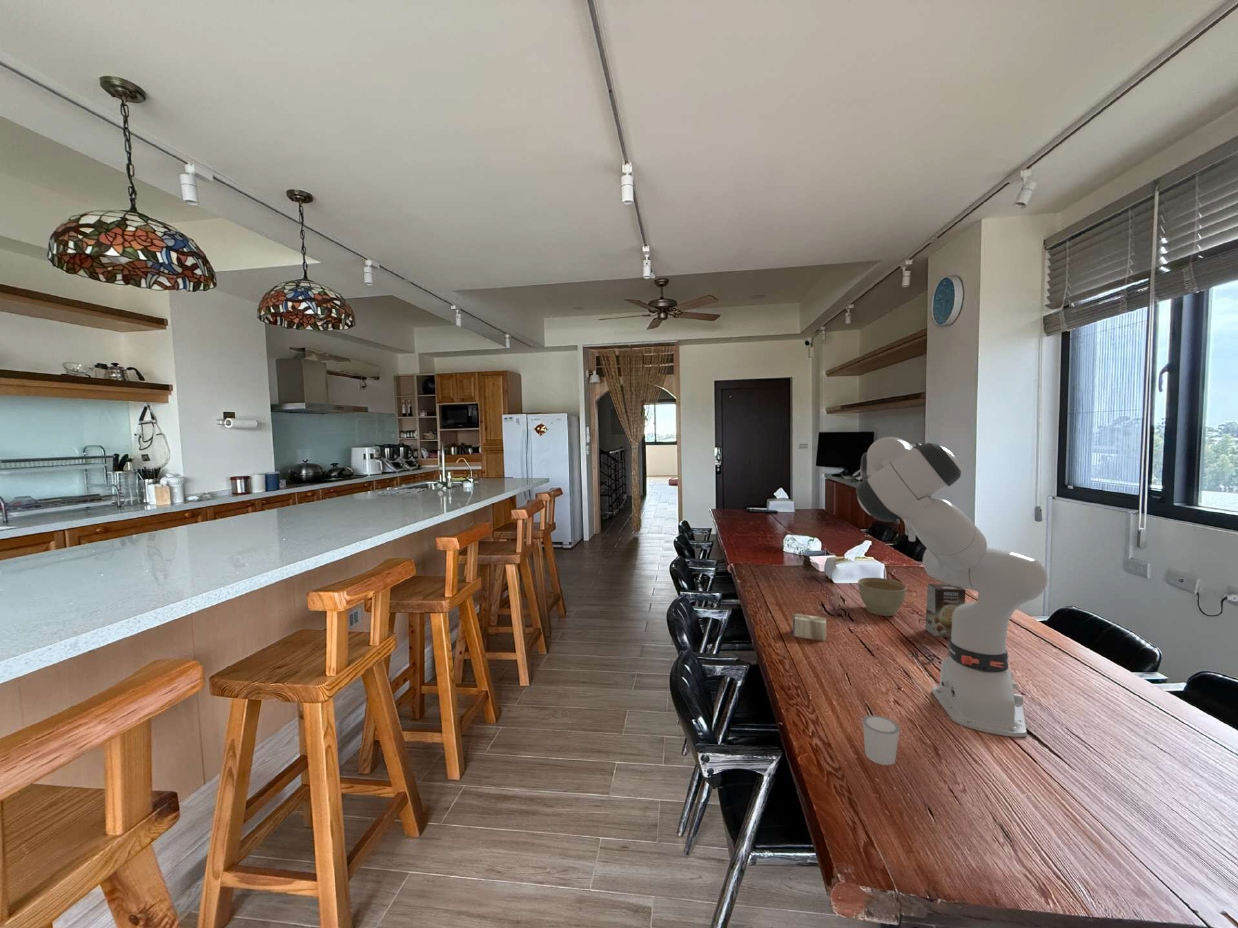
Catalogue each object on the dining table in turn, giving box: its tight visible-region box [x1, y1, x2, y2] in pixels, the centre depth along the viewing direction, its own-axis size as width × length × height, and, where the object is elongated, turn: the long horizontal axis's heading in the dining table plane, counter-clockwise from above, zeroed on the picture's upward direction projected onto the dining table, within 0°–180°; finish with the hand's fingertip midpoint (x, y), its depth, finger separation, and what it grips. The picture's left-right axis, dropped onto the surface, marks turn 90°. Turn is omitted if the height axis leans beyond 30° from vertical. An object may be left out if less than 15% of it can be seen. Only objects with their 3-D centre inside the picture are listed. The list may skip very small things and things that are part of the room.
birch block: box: [792, 613, 827, 642], centre depth 165 cm, size 5×6×10 cm
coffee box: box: [924, 583, 967, 638], centre depth 166 cm, size 9×6×16 cm
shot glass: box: [862, 714, 900, 766], centre depth 104 cm, size 7×7×7 cm
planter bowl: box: [857, 577, 907, 617], centre depth 186 cm, size 16×16×11 cm
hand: (910, 537), depth 157 cm, fingers open, 8 cm apart
